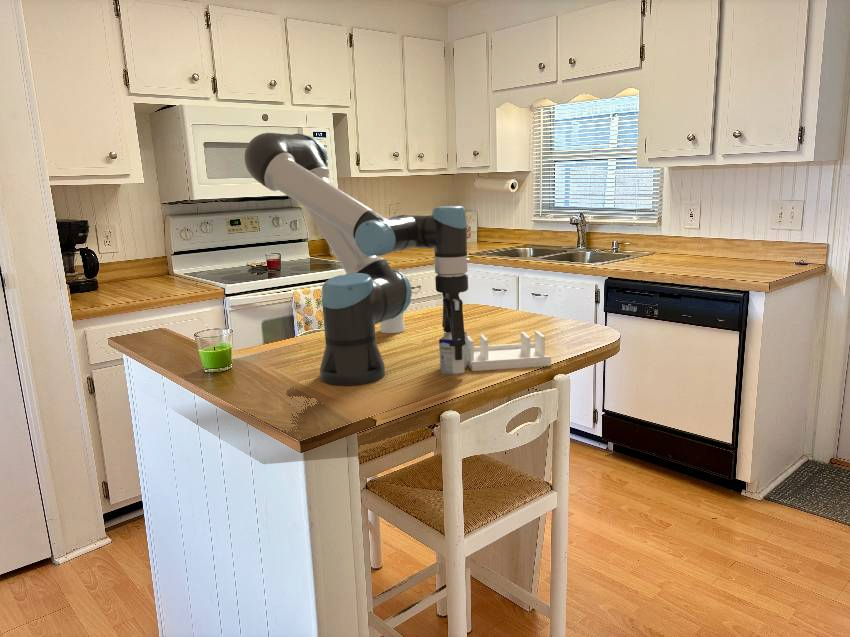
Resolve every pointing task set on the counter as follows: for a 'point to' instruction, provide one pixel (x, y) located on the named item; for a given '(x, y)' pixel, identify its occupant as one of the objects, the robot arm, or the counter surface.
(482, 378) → the counter surface
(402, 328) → the cup
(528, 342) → the rack
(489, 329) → the counter surface
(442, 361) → the box
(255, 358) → the counter surface
